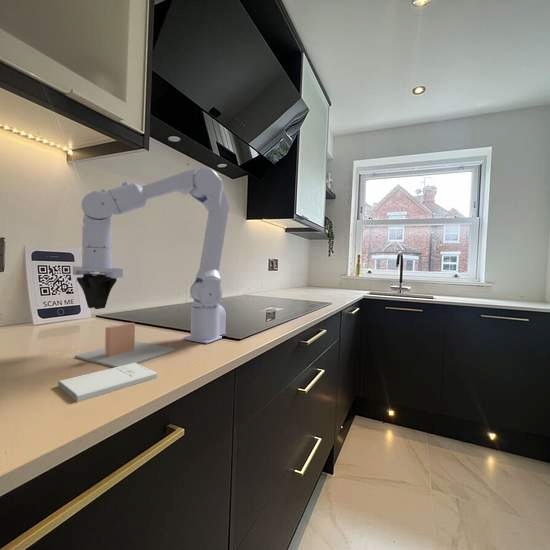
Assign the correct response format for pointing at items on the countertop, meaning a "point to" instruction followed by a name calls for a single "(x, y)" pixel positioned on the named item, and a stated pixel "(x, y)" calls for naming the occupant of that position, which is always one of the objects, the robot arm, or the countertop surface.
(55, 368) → the countertop surface
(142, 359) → the mat
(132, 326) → the tile
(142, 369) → the external hard drive
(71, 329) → the countertop surface
